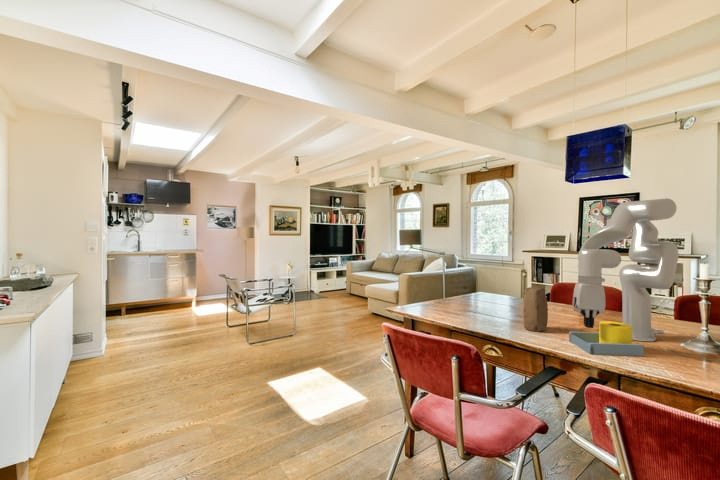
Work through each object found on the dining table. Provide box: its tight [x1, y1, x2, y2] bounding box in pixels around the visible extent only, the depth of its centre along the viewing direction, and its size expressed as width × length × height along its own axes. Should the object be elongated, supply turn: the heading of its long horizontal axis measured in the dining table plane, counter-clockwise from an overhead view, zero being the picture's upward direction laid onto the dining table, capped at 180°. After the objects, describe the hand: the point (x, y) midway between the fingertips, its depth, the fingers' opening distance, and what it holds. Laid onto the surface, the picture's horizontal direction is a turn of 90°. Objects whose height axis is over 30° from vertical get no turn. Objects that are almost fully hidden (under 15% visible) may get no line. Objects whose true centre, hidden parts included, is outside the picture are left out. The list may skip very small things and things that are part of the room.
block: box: [522, 286, 549, 333], centre depth 152 cm, size 11×8×20 cm
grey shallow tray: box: [568, 331, 645, 357], centre depth 126 cm, size 18×15×4 cm
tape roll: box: [598, 320, 633, 344], centre depth 126 cm, size 10×10×9 cm
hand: (588, 327), depth 127 cm, fingers closed
